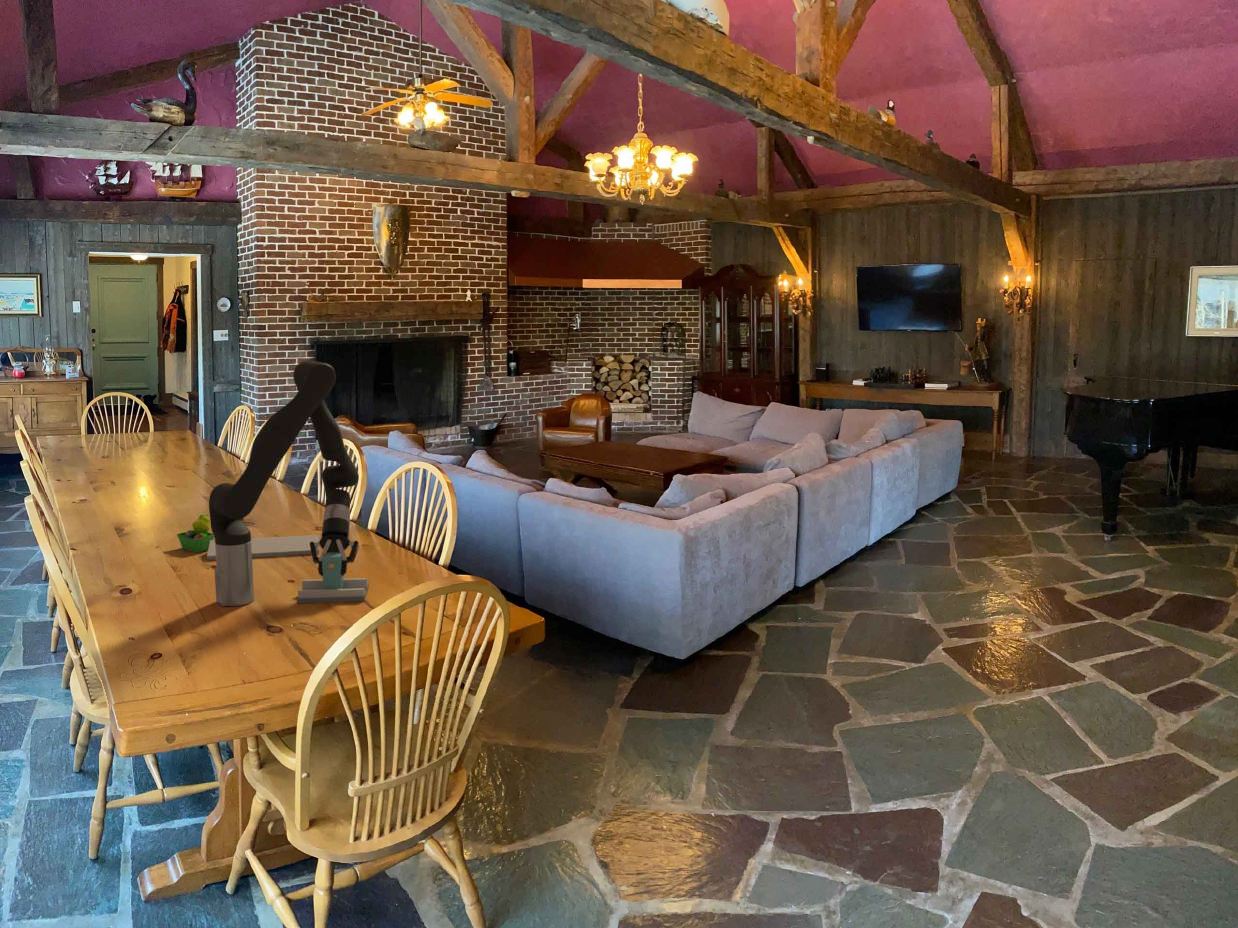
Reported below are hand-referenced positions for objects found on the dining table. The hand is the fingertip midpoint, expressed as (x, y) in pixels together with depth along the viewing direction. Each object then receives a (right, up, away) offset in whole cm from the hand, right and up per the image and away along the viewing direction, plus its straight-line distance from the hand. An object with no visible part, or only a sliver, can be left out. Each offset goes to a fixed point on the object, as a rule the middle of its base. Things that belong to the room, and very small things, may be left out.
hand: (332, 574), depth 266 cm
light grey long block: (-36, +1, +46) cm, 58 cm away
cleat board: (-1, -6, +4) cm, 8 cm away
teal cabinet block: (0, -4, +3) cm, 5 cm away
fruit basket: (-60, +3, +49) cm, 78 cm away
